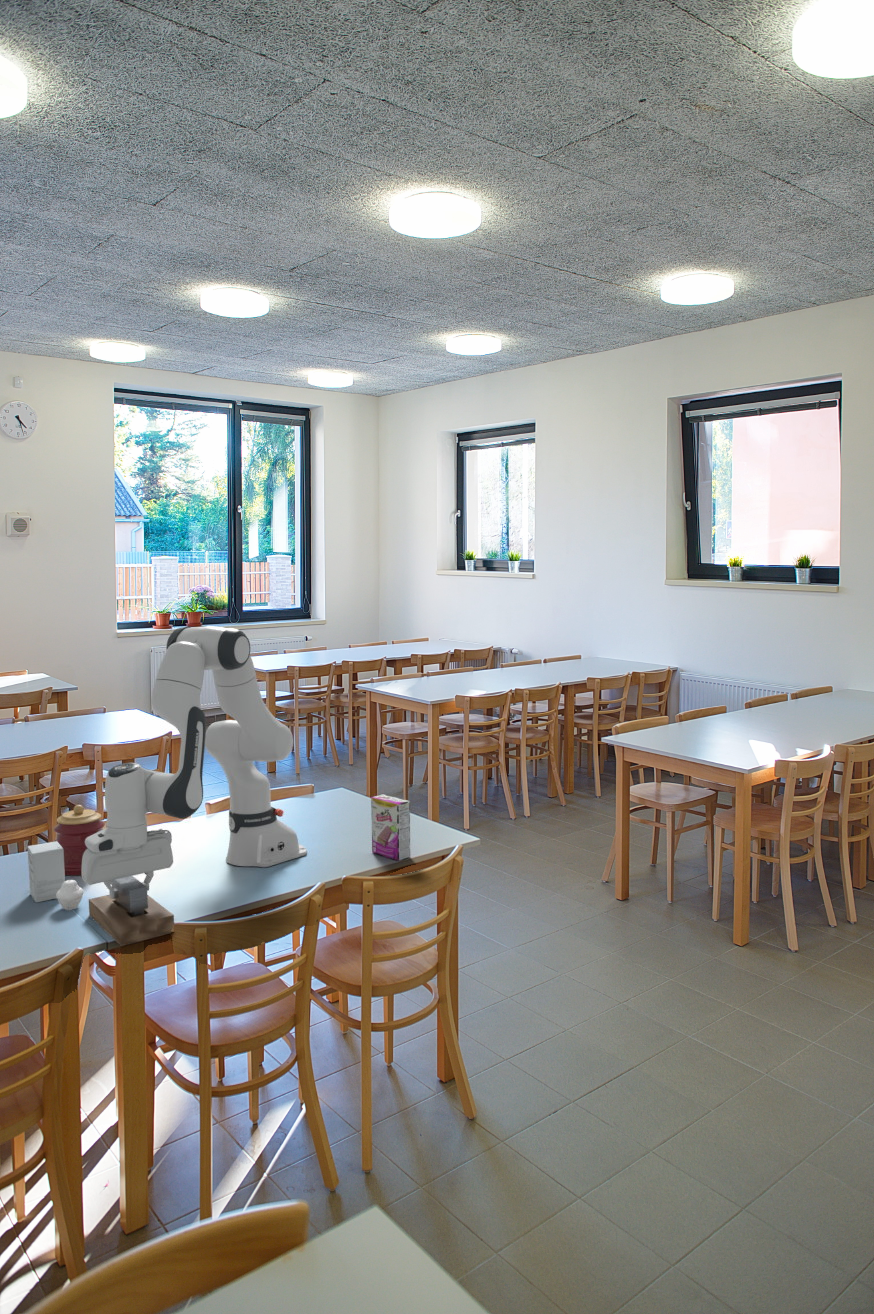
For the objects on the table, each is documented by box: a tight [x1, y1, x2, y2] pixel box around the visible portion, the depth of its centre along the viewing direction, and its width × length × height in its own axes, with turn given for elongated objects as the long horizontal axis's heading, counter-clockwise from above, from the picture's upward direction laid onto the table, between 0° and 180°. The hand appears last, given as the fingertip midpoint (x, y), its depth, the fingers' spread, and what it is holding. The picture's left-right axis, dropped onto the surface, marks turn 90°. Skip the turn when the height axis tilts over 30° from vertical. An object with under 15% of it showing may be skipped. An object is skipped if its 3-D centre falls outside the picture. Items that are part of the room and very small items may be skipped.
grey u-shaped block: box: [111, 875, 148, 918], centre depth 213 cm, size 4×12×10 cm, turn 37°
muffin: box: [56, 879, 84, 911], centre depth 223 cm, size 6×6×7 cm
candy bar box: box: [370, 793, 411, 862], centre depth 260 cm, size 11×5×16 cm, turn 47°
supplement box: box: [26, 841, 66, 903], centre depth 231 cm, size 7×7×13 cm
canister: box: [53, 804, 106, 876], centre depth 251 cm, size 13×13×18 cm
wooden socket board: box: [88, 894, 175, 947], centre depth 213 cm, size 12×22×4 cm, turn 38°
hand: (129, 894), depth 213 cm, fingers open, 6 cm apart
